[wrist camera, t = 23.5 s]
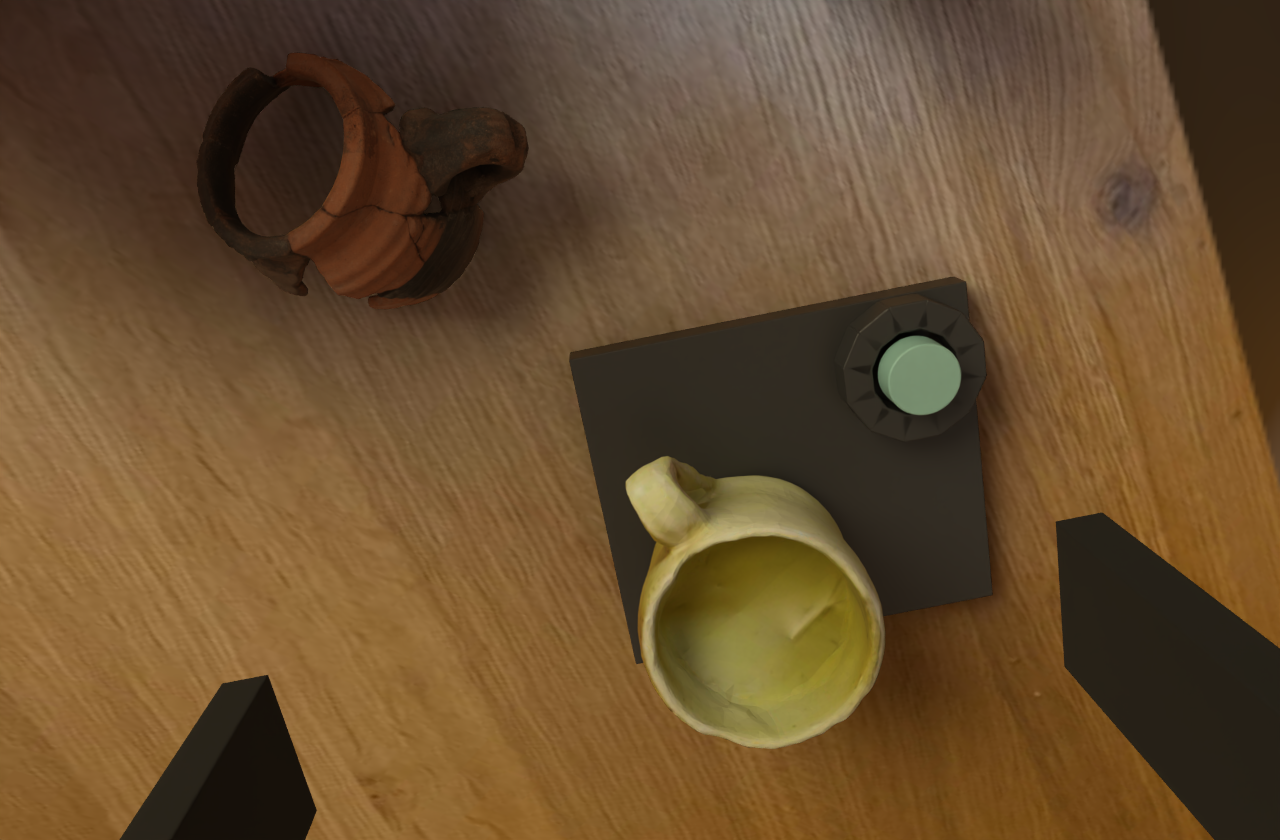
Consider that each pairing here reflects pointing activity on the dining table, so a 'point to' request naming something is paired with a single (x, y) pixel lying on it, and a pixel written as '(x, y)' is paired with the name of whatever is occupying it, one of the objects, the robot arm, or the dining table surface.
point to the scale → (805, 433)
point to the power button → (919, 375)
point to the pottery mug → (367, 187)
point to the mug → (752, 607)
